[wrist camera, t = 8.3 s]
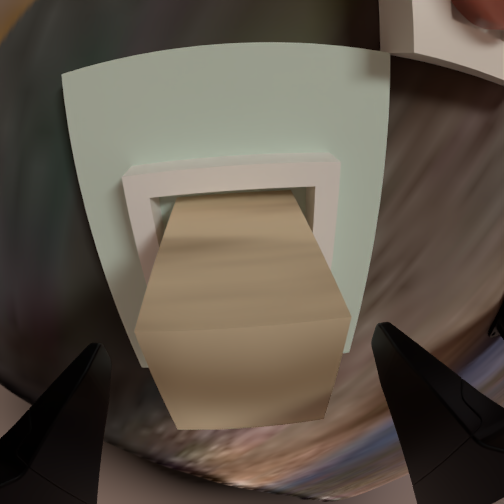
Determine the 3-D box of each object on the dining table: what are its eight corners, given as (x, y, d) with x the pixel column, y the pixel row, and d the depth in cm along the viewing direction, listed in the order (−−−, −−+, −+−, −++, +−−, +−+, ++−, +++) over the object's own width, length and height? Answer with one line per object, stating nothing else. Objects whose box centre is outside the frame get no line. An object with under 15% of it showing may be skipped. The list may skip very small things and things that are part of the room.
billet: (288, 281, 16) (323, 418, 10) (191, 288, 16) (178, 429, 9) (290, 189, 14) (351, 316, 7) (176, 197, 14) (134, 332, 7)
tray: (345, 341, 21) (355, 369, 19) (144, 356, 20) (138, 385, 18) (380, 53, 11) (407, 52, 9) (71, 73, 11) (44, 76, 9)
